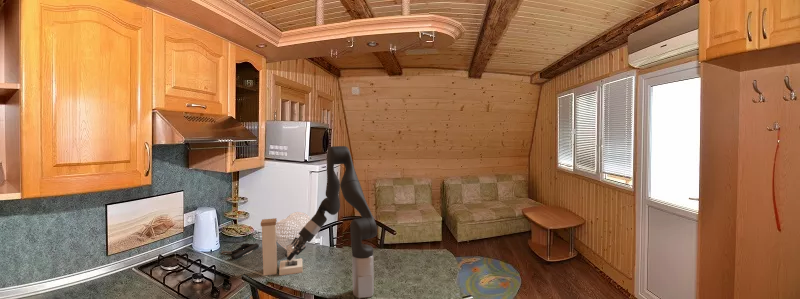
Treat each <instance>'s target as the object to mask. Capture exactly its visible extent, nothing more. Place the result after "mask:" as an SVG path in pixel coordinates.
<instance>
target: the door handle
mask: <svg viewBox="0 0 800 299" xmlns="http://www.w3.org/2000/svg"><path fill="white" fill-rule="evenodd" d="M259 245H260V244H258V243H257V242H256V243H242V244H241V245H240V247H237V248H236V249H234V250H222V251H221V254H222V253H227V254H232V255H230V256H231V260H232V259H234V260H237V259H239V258H241V257H244V255H245V256H246V254H247V255H248V254H250V253H252V252H254V250H256V249H258V248H259V247H260V246H259ZM243 249H244V250H243Z"/></svg>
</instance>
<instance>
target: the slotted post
mask: <svg viewBox="0 0 800 299" xmlns="http://www.w3.org/2000/svg"><path fill="white" fill-rule="evenodd" d="M277 220H278V219H277V218H274V217H273V218H264V219H261V221H260V227H261V236H262V237H261V242H262V244H261V245H262V268H263V276H270V275H277V272H278V273H279V274H278V275H279V276H285V275H293V274H300V273H302V274H303V272H304V271H303V269H304V268H303V258H295V265H296V266H288V267H287V259H285V260H280V261H279V262H280V263H279V269H278V249H277V241H276V235H277V230H276V225H277V224H276V223H277V222H278V221H277ZM278 270H279V271H278Z"/></svg>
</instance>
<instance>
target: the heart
mask: <svg viewBox="0 0 800 299" xmlns="http://www.w3.org/2000/svg"><path fill="white" fill-rule="evenodd" d="M311 219H312V218H310V216H309V215H308V214H306V213H304V212H300V211H297V212H295V211H294V212H293V213H290V214H289V215H288V216H287V217H285V218H283V219H280V220H279V221H277V222H276V243H278V245H280V246H281V247H282V248H283V249H285V250H286V251H287V245H289V244H291V243H292V242H293V240H294V239H295V237H297V238H298V237H299V236H300V235H299V232H300V231H301V230H302V229H303V227H304V226H305V225H306V224H307V223H308V222H309V221H310V220H311Z"/></svg>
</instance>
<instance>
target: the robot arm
mask: <svg viewBox="0 0 800 299" xmlns="http://www.w3.org/2000/svg"><path fill="white" fill-rule="evenodd" d="M352 158H353V157H352V154H351V152H350V148H349V147H348V146H345V145H337V146H335V145H334V146H329V147H328V149H327V150H326V189H325V198H323V200H322V201H320V204H319V206H318V208H317V210H316V212H315V214H314V215H313V216H312V217H311V218H310V219H311V220H309V221H308V222H307V224H306V225H305V226H304V227H303V229H302V230H300V232H299V235H300V236H299V237H298V238H297V237H295V236H294V237H295V238H293V239H294V240H293V242H292V243H291V244H294V245H295V246H294V250H293V251H292V252H291V253H290V255H289V256H288V257H287V252H285V254H284V257H285V258H286V260H287V259H288V260H289V261H290V260H291V259H292V258H293V257H294V256H295V257H296V256H299V255H300V254H301V253H302V252H303V251H304V250H305V248H306V243H307V242H308V243H310V242H312V240H313V239H314V238H315V237H316V235H317V234H318V233H319V231H320V230H321V228H322V227H323V226H324V224H325V223H327V220H328V218H327V216H326V215H325V214H326V213H328V214H329V215H331V216H334V215H337V214H338V213H339V211H340V209H341V202H340V201H341V200H340V195H339V194H340V190H341V193H342V196H343V199H344V200H345V201H346V202H347V203H348V204H349V205H350V206H352V207H353V208H354V210H356V211H357V212H358V213H359V215H360V216H361V218H355V219H352V220H351V222H350V226H349V228H350V230H349V231H350V247H351V254H352V255H351V256H352V257H351V260H352V262H351V263H352V264H351V265H352V295H353V296H354V297H356V298H357V299H365V298H371V297H373V294H374V292H375V285H374V284H375V280H374V272H375V270H374V269H375V267H374V264H375V263H374V248H373V246H372V245H370V244H369V245H368V244H364V243H363V242H362V241H365V240H368V239H374V238H375V237H377V235H378V225H377V223H376V220H375V218H374V216H373V213H372V210H370V207H369V205H368V202H367V200H366V197H365V193H364V192H363V188H362V186H361V182H360V180H359V178H358V175H357V172H356V169H355V166H354V162H353V159H352ZM335 165H344V173H343V175H342V178H341V180H339V178H338V175H337V173H336V172H335Z"/></svg>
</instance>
